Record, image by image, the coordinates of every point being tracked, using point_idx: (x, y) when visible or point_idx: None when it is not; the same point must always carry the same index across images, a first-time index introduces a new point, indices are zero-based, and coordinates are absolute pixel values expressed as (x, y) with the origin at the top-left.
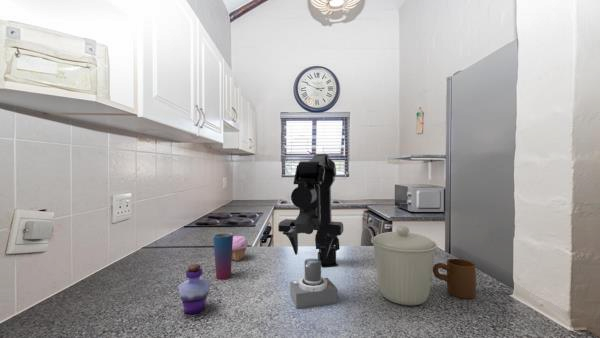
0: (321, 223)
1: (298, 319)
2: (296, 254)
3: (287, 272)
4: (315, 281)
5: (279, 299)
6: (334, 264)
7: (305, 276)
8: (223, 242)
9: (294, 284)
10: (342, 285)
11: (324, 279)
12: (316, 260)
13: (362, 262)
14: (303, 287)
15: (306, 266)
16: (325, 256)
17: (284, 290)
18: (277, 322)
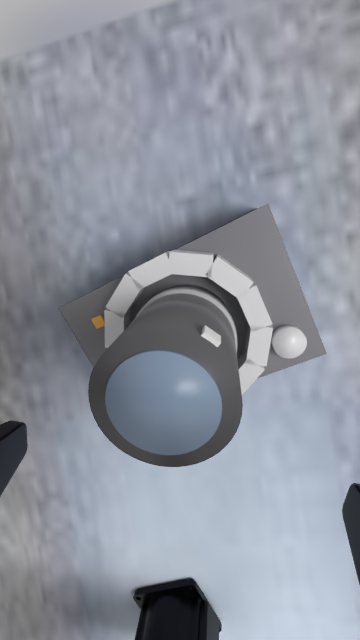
0: None
1: (233, 110)
2: (352, 485)
3: None
4: (158, 298)
5: (355, 281)
6: (146, 596)
7: (226, 322)
8: None
9: (295, 325)
10: (92, 436)
11: None
12: (129, 417)
13: (49, 612)
14: (232, 266)
15: (214, 333)
16: (14, 426)
17: (340, 370)
18: (335, 51)
